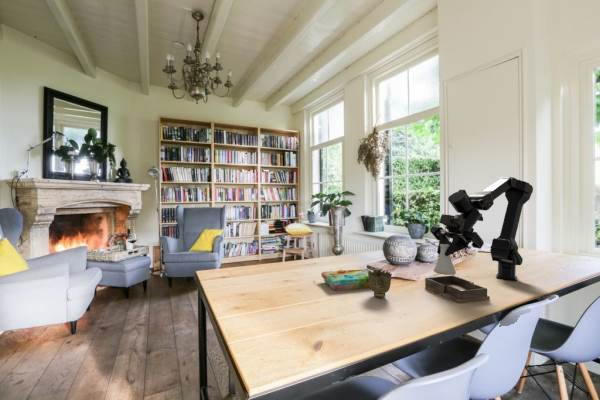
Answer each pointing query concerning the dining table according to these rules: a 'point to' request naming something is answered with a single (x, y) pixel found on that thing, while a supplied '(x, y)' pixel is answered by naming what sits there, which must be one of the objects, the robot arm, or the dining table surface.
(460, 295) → the walnut dock
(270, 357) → the dining table surface
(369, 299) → the dining table surface
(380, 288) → the cup
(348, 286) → the puzzle game
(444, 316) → the dining table surface
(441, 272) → the flask
